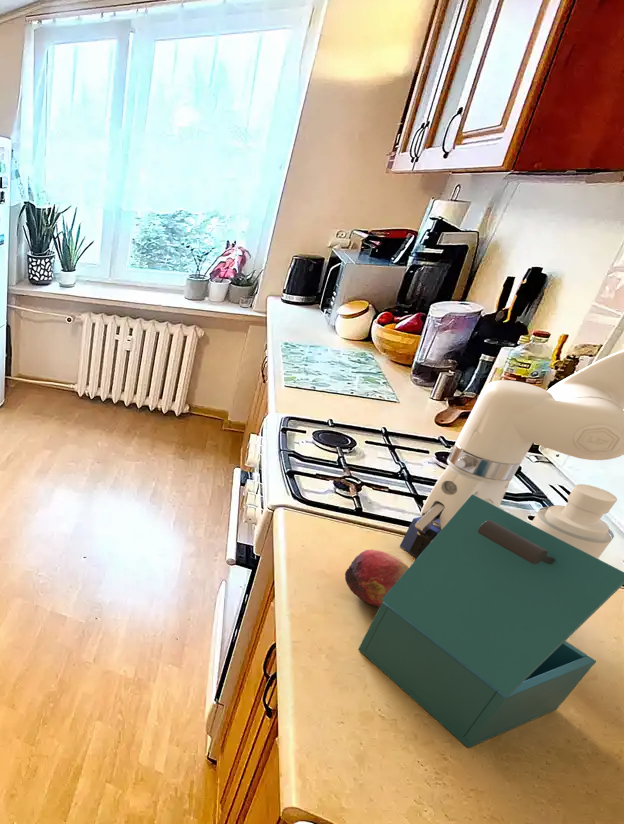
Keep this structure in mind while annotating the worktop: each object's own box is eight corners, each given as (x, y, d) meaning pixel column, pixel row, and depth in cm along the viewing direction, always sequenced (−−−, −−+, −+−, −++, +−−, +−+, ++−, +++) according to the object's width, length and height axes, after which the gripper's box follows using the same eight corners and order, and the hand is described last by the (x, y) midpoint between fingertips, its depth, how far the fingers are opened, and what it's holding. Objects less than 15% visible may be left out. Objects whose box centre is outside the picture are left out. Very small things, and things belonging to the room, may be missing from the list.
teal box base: (438, 622, 74) (466, 576, 70) (556, 709, 63) (597, 661, 59) (357, 649, 70) (381, 602, 66) (467, 748, 58) (505, 698, 54)
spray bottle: (469, 624, 74) (562, 479, 63) (478, 601, 78) (567, 460, 67) (532, 655, 70) (645, 505, 58) (538, 629, 73) (645, 483, 62)
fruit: (407, 626, 73) (431, 585, 70) (345, 611, 76) (365, 570, 72) (390, 588, 80) (411, 548, 76) (333, 575, 82) (351, 535, 79)
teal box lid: (474, 495, 61) (452, 485, 58) (632, 576, 49) (613, 568, 47) (384, 600, 66) (360, 595, 63) (508, 695, 54) (485, 694, 52)
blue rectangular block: (399, 546, 89) (413, 518, 86) (420, 540, 90) (434, 513, 87) (442, 574, 83) (458, 545, 80) (463, 568, 84) (480, 539, 82)
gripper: (470, 484, 72) (418, 580, 81) (549, 466, 77) (492, 559, 85) (416, 456, 79) (373, 549, 87) (492, 441, 84) (444, 530, 92)
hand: (432, 553), depth 86 cm, fingers closed on blue rectangular block, 5 cm apart
